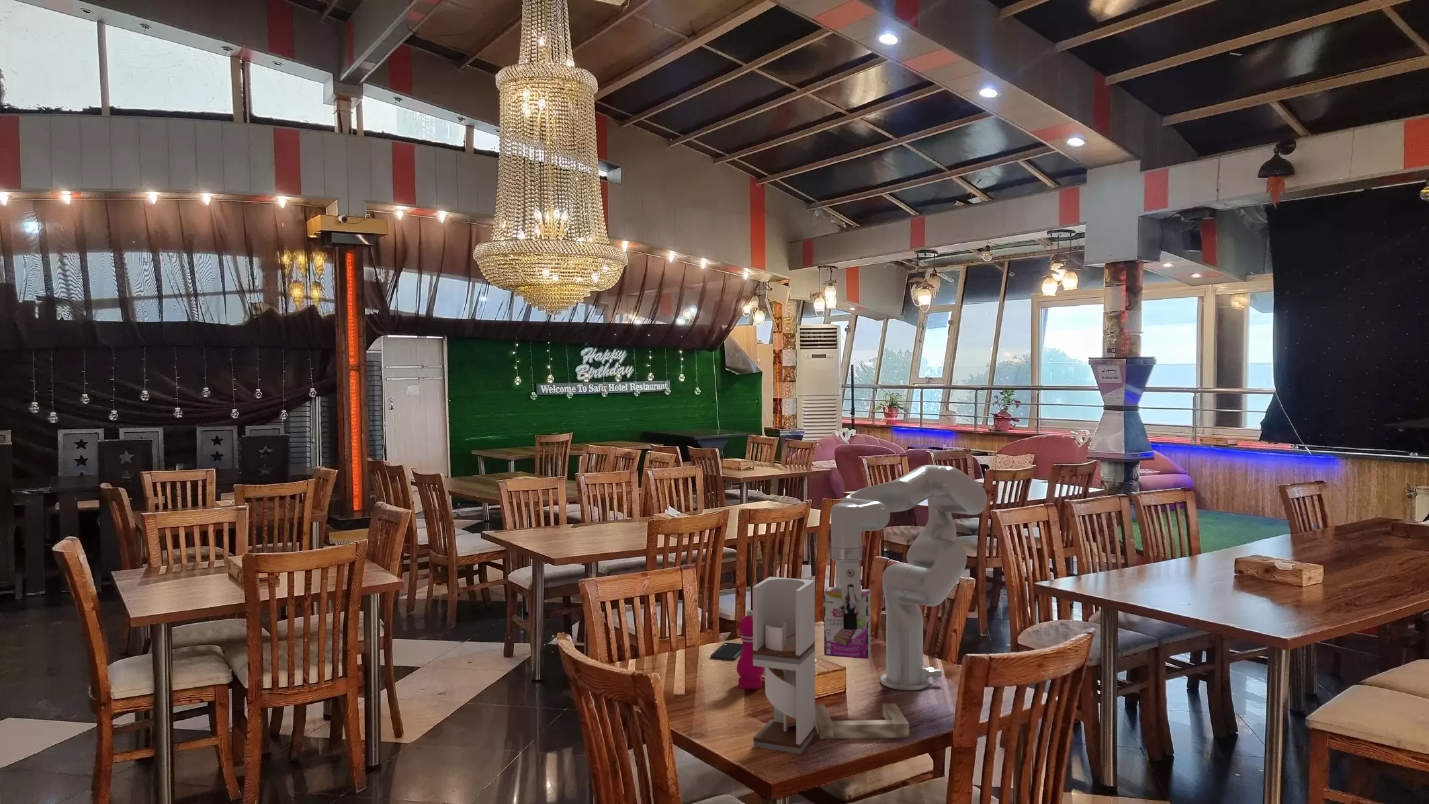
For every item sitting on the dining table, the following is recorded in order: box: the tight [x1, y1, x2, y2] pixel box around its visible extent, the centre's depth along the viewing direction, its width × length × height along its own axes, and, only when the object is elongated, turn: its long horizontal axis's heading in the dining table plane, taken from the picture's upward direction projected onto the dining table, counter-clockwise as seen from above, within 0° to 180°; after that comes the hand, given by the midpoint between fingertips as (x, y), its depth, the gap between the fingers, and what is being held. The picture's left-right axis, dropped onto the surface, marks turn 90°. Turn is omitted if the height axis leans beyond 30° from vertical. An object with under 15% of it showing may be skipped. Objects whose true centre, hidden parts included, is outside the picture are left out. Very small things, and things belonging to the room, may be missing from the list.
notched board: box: [815, 703, 910, 740], centre depth 205 cm, size 20×13×3 cm, turn 92°
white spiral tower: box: [752, 576, 816, 755], centre depth 197 cm, size 11×11×35 cm
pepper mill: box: [736, 609, 765, 690], centre depth 234 cm, size 7×7×20 cm
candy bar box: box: [823, 586, 872, 660], centre depth 221 cm, size 11×5×16 cm, turn 73°
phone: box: [710, 642, 743, 662], centre depth 264 cm, size 8×1×15 cm
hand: (847, 624), depth 221 cm, fingers closed on candy bar box, 6 cm apart
